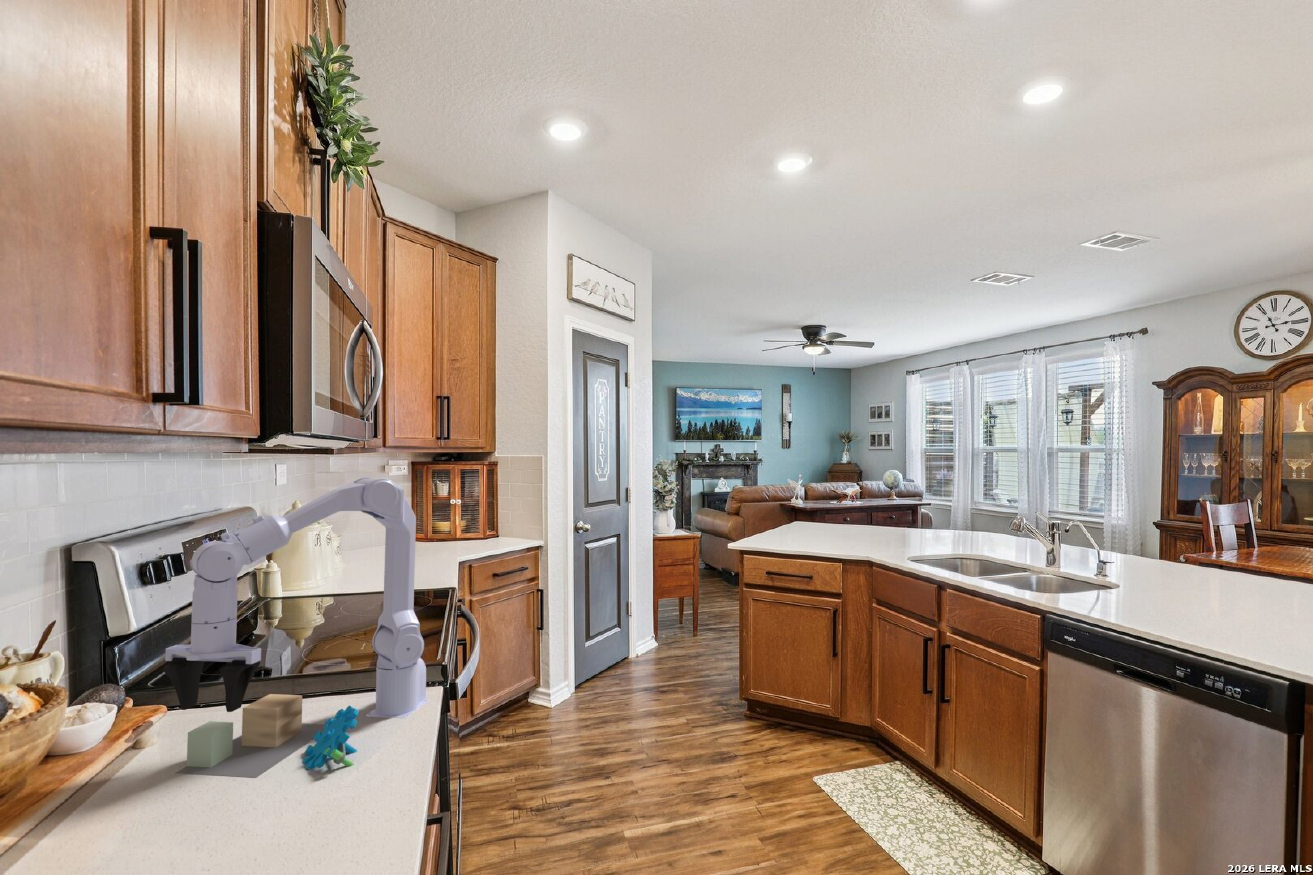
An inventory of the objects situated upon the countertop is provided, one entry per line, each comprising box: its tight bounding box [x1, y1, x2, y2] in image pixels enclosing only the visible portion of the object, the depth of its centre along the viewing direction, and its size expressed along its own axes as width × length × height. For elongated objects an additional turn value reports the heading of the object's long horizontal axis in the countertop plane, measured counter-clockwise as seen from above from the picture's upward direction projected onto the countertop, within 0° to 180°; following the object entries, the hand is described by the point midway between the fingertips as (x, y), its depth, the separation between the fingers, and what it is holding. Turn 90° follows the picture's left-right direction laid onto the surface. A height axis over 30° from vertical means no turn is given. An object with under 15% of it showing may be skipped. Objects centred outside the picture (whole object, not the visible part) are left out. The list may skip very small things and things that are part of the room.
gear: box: [301, 704, 359, 770], centre depth 94 cm, size 11×6×10 cm
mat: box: [174, 722, 325, 779], centre depth 97 cm, size 18×13×1 cm
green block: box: [186, 720, 234, 767], centre depth 93 cm, size 4×4×5 cm
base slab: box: [241, 713, 303, 747], centre depth 101 cm, size 6×6×3 cm
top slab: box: [241, 693, 303, 728], centre depth 101 cm, size 6×6×3 cm
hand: (211, 708), depth 93 cm, fingers open, 7 cm apart
